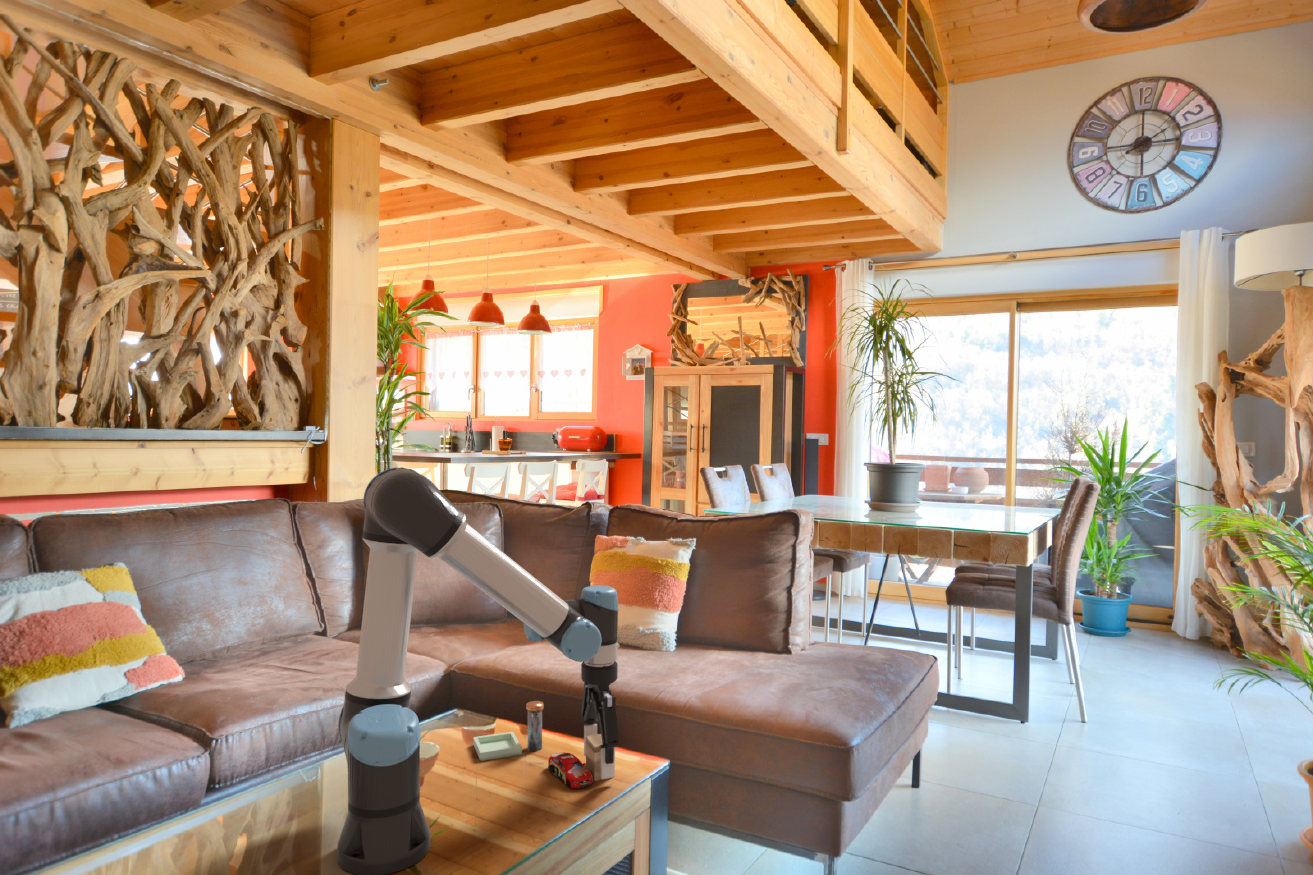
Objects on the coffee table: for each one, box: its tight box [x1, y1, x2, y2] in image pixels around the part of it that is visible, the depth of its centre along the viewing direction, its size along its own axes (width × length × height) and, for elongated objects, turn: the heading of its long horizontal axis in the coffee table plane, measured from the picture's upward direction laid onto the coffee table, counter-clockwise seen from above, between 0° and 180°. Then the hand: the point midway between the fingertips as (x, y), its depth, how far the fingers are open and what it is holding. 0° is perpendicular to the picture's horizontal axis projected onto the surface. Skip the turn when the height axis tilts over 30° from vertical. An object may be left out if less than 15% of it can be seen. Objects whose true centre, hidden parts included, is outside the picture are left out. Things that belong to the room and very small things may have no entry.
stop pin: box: [525, 700, 545, 752], centre depth 184 cm, size 4×4×10 cm
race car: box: [547, 751, 594, 790], centre depth 170 cm, size 13×5×4 cm, turn 31°
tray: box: [472, 731, 523, 762], centre depth 183 cm, size 9×9×2 cm
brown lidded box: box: [585, 733, 609, 781], centre depth 172 cm, size 4×6×7 cm
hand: (598, 766), depth 172 cm, fingers open, 11 cm apart
